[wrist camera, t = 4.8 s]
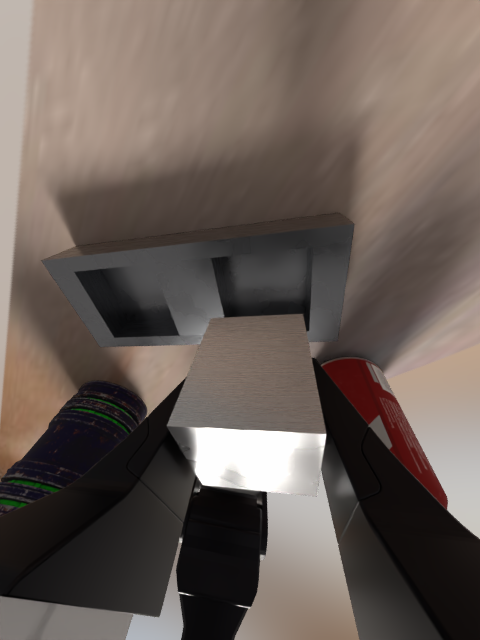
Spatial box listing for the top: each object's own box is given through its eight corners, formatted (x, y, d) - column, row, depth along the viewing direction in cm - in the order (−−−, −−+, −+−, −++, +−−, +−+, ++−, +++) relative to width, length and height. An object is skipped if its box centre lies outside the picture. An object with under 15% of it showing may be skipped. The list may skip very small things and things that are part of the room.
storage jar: (65, 378, 29) (-81, 529, 17) (131, 381, 28) (20, 549, 15) (100, 419, 35) (9, 554, 23) (157, 423, 33) (90, 571, 21)
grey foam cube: (302, 313, 9) (326, 434, 5) (301, 377, 11) (316, 496, 7) (210, 318, 10) (166, 426, 6) (226, 377, 12) (203, 485, 8)
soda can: (377, 344, 19) (480, 524, 10) (382, 391, 23) (461, 558, 13) (301, 359, 22) (323, 517, 12) (315, 399, 25) (342, 548, 15)
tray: (328, 316, 18) (337, 341, 16) (120, 325, 22) (100, 346, 19) (339, 212, 14) (354, 223, 11) (75, 246, 18) (41, 260, 15)
